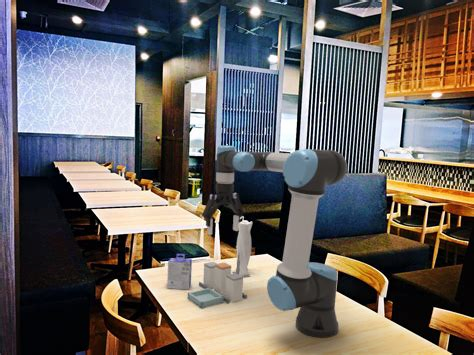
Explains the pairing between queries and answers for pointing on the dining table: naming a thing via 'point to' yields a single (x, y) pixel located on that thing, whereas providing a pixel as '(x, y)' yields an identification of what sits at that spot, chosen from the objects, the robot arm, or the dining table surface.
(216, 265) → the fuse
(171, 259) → the ink cartridge box
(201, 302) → the tray
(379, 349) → the dining table surface
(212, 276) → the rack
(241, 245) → the skyscraper
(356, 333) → the dining table surface
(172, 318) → the dining table surface
